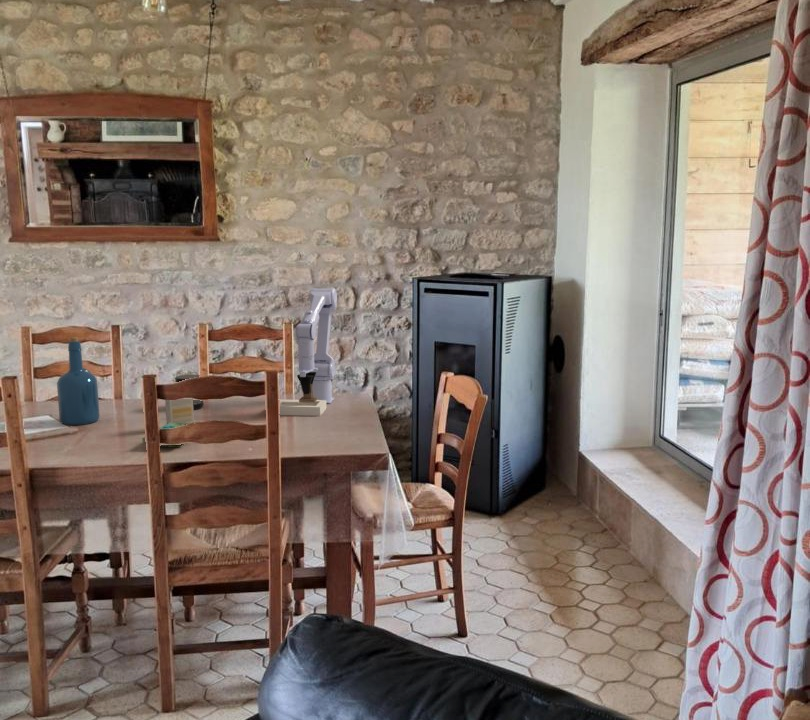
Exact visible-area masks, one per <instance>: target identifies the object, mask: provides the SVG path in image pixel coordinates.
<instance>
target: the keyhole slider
mask: <svg viewBox="0 0 810 720" xmlns="http://www.w3.org/2000/svg"><path fill="white" fill-rule="evenodd" d="M302 394H303V393H302ZM298 400H299V402H315V401H316V400H317V397H313V384H311V385H310V393H309V394H303V395H302V396H301V398H299V399H298Z"/></svg>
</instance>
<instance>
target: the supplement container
mask: <svg viewBox="0 0 810 720" xmlns="http://www.w3.org/2000/svg"><path fill="white" fill-rule="evenodd" d="M199 376H201V375H199V374H182V375H177V376H175V377H174V379H175V380H174V381H175V382H179V381H182V380H185V379H189V378H194V377H199ZM204 404H205V403H204V400H203V401H200V400H193V411H195V410H199V409H202V408H203V407H204Z"/></svg>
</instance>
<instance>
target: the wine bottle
mask: <svg viewBox="0 0 810 720" xmlns="http://www.w3.org/2000/svg"><path fill="white" fill-rule="evenodd" d="M67 351H68V358H69V359H68V362H69V364H68V365H69V370H68V371H67V372H64V373H63V374H61V376H60V377H59V378H58V379H57V382H56V389H57V391H56V392H57V403H58V414H59V416H58V417H59V422H60V423H61V422H62V423H61V424H63V423H64V424H63V425H65V424H68V425H67V426H83V425H90V424H92V423H95V422H97V421H99V419H100V417H101V416H100V402H99V401H100V399H99V386H98V379H97V377H96V375H94V374H93V373H92V372H91V371H90V370H89V369H86V368H85V367H84V365H83V363H84V362H83V358H82V357H83V356H82V351H83V349H82V346H81V340H79V338H78V336H71V337H70V338H69V341H68V350H67Z"/></svg>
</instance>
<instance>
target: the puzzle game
mask: <svg viewBox="0 0 810 720" xmlns="http://www.w3.org/2000/svg"><path fill="white" fill-rule="evenodd" d="M186 424H189V423H168V424H167V423H165V424H164V425H163V426H161V427H160V429H169V428H175V427H179V426H182V425H186ZM145 437H146V436H143V437H142V439H141V440H142V443H144V444H145ZM182 445H183V446H185V445H184V444H181V445H161V446H163V447H164V446H165V448H166V446H168V448H178V447H177V446H182ZM161 446H160V447H161ZM183 446H182V447H183ZM163 447H162V448H163Z"/></svg>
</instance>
